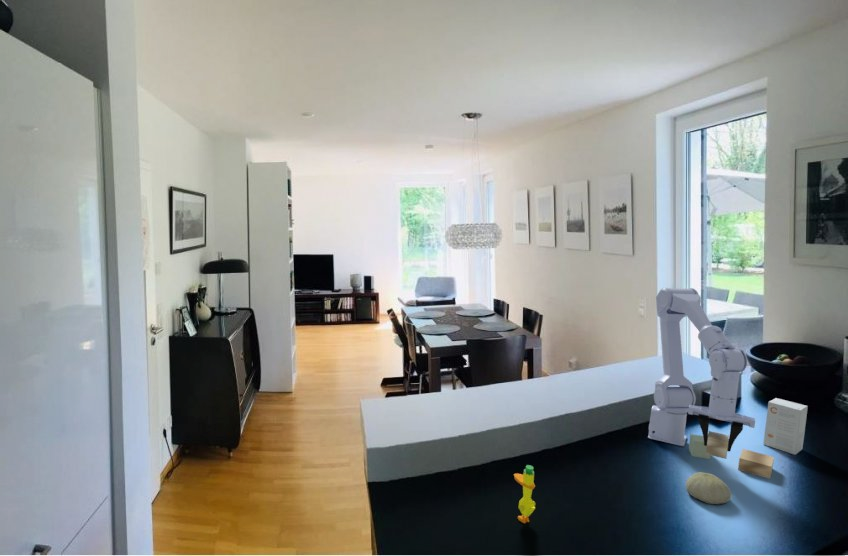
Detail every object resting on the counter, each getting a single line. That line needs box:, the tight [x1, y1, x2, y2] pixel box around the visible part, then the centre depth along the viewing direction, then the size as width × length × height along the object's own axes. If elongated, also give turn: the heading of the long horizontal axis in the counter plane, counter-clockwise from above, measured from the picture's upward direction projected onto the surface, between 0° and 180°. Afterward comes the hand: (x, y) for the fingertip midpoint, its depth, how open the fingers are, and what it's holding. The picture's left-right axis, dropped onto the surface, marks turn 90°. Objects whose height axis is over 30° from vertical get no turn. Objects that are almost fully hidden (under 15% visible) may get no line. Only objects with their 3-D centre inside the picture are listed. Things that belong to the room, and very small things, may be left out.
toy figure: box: [513, 464, 536, 524], centre depth 108 cm, size 7×4×12 cm, turn 30°
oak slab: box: [737, 448, 775, 479], centre depth 135 cm, size 7×7×4 cm
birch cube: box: [706, 430, 730, 460], centre depth 132 cm, size 4×4×4 cm
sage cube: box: [688, 433, 712, 460], centre depth 143 cm, size 4×4×4 cm
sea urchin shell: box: [685, 471, 732, 505], centre depth 121 cm, size 9×8×8 cm
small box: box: [763, 397, 809, 456], centre depth 149 cm, size 8×6×13 cm
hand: (717, 447), depth 132 cm, fingers closed on birch cube, 4 cm apart
